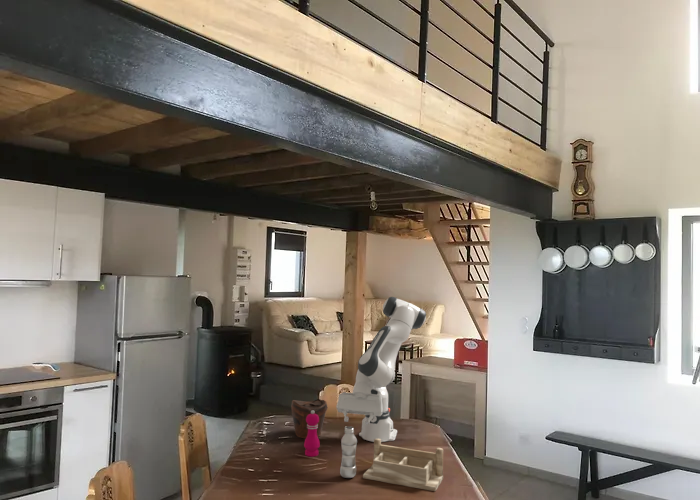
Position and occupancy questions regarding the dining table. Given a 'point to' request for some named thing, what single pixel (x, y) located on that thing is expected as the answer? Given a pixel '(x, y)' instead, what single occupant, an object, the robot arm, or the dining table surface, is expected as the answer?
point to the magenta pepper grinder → (312, 435)
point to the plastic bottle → (348, 453)
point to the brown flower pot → (303, 409)
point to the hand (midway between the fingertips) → (356, 422)
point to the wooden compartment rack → (406, 466)
